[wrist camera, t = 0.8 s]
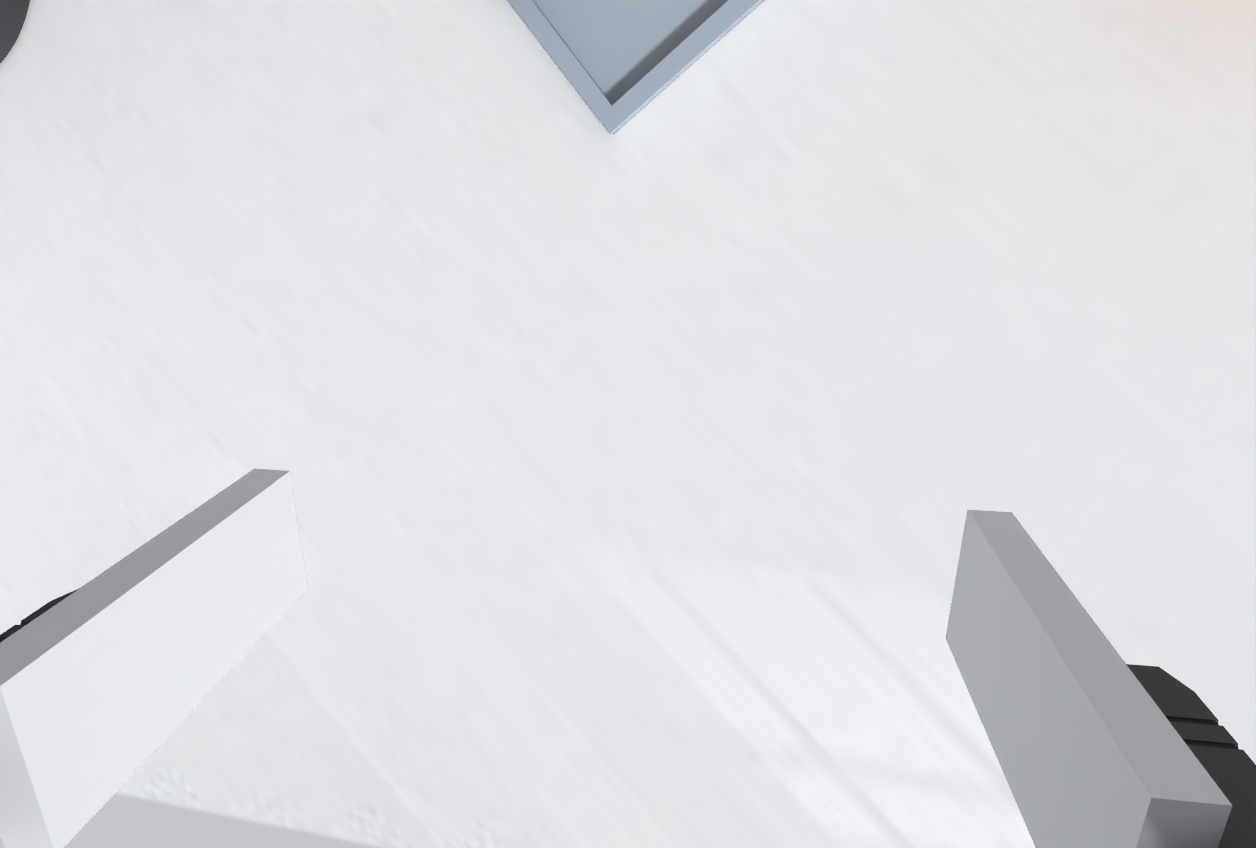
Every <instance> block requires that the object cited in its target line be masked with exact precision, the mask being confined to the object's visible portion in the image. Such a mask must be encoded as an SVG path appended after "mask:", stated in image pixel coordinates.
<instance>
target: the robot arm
mask: <svg viewBox="0 0 1256 848" xmlns="http://www.w3.org/2000/svg"><path fill="white" fill-rule="evenodd" d="M29 2H30V0H0V63H1V62H2V61H3V60H4V58H5V57H6V56H7V55H8V53H9V51H10V50H11V48H12V47H13V45H14V43H15V42H16V40H17V38H18V36H19V33H20V31H21V29H22V27H23V24H24V21H25V18H26V14H27V11H28V7H29ZM308 589H309V588H308V582H307V576H306V569H305V563H304V557H303V551H302V544H301V538H300V532H299V525H298V519H297V513H296V506H295V500H294V494H293V488H292V481H291V475H290V471H281V470H264V469H254V470H252V471H251V472H249V473H248V474H246V475H245V476H243V477H242V478H240V479H239V480H238V481H236V482H235V483H233V484H232V485H230V486H229V487H227V488H226V489H224V490H223V491H221V492H220V493H219V494H217V495H216V496H214V497H213V498H211V499H210V500H208V501H207V502H205V503H204V504H202V505H201V506H200V507H198V508H197V509H195V510H194V511H192V512H191V513H189V514H188V515H186V516H185V517H183V518H182V519H180V520H179V521H178V522H176V523H175V524H173V525H172V526H170V527H169V528H167V529H166V530H164V531H163V532H161V533H160V534H159V535H157V536H156V537H154V538H153V539H151V540H150V541H148V542H147V543H145V544H144V545H142V546H141V547H140V548H138V549H137V550H135V551H134V552H132V553H131V554H129V555H128V556H126V557H125V558H123V559H122V560H121V561H119V562H118V563H116V564H115V565H113V566H112V567H110V568H109V569H107V570H106V571H104V572H103V573H102V574H100V575H99V576H97V577H96V578H94V579H93V580H91V581H90V582H88V583H87V584H85V585H84V586H82V587H81V588H79V589H77V590H75V591H73V592H70V593H68V594H66V595H64V596H61V597H59V598H57V599H55V600H52V601H50V602H49V603H47V604H46V605H44V606H43V607H41V608H40V609H38V610H37V611H35V612H34V613H32V614H31V615H29V616H28V617H26V618H25V619H23V620H22V621H21V624H20V625H14V626H13V627H12V628H10V629H9V630H7V631H6V632H4V633H3V634H1V635H0V837H1V839H2V842H3V845H4V847H5V848H64V846H65V845H66V844H67V843H68V842H69V841H70V840H71V839H72V838H73V837H74V836H75V835H76V834H77V833H78V832H79V831H80V830H81V829H82V828H83V827H84V825H86V823H87V822H88V821H89V820H90V819H91V818H92V817H93V816H94V815H95V814H96V813H97V812H98V811H99V810H100V809H101V808H102V807H103V806H104V804H105V803H106V802H107V801H108V800H109V799H110V798H111V797H112V796H113V795H114V794H115V793H116V792H117V791H118V790H119V789H120V788H121V787H122V785H123V784H124V783H125V782H126V781H127V780H128V779H129V778H130V777H131V776H132V775H133V774H134V773H135V772H136V771H137V770H138V769H139V768H140V766H141V765H142V764H143V763H144V762H145V761H146V760H147V759H148V758H149V757H150V756H151V755H152V754H153V753H154V752H155V751H156V750H157V749H158V748H159V746H160V745H161V744H162V743H163V742H164V741H165V740H166V739H167V738H168V737H169V736H170V735H171V734H172V733H173V732H174V731H175V730H176V729H177V727H178V726H179V725H180V724H181V723H182V722H183V721H184V720H185V719H186V718H187V717H188V716H189V715H190V714H191V713H192V712H193V711H194V710H195V708H196V707H197V706H198V705H199V704H200V703H201V702H202V701H203V700H204V699H205V698H206V697H207V696H208V695H209V694H210V693H211V692H212V691H213V690H214V688H215V687H216V686H217V685H218V684H219V683H220V682H221V681H222V680H223V679H224V678H225V677H226V676H227V675H228V674H229V673H230V672H231V671H232V669H233V668H234V667H235V666H236V665H237V664H238V663H239V662H240V661H241V660H242V659H243V658H244V657H245V656H246V655H247V654H248V653H249V652H250V650H251V649H252V648H253V647H254V646H255V645H256V644H257V643H258V642H259V641H260V640H261V639H262V638H263V637H264V636H265V635H266V634H267V633H268V632H269V630H270V629H271V628H272V627H273V626H274V625H275V624H276V623H277V622H278V621H279V620H280V619H281V618H282V617H283V616H284V615H285V614H286V613H287V611H288V610H289V609H290V608H291V607H292V606H293V605H294V604H295V603H296V602H297V601H298V600H299V599H300V598H301V597H302V596H303V595H304V594H305V592H306V591H307V590H308ZM946 640H947V642H948V644H949V647H950V649H951V651H952V654H953V656H954V658H955V661H956V663H957V665H958V668H959V670H960V672H961V675H962V677H963V679H964V682H965V684H966V686H967V689H968V691H969V693H970V696H971V698H972V700H973V703H974V705H975V707H976V710H977V712H978V714H979V716H980V719H981V721H982V723H983V726H984V728H985V730H986V733H987V735H988V737H989V740H990V742H991V744H992V747H993V749H994V751H995V754H996V756H997V758H998V761H999V763H1000V765H1001V768H1002V770H1003V772H1004V775H1005V777H1006V779H1007V782H1008V784H1009V786H1010V789H1011V791H1012V793H1013V796H1014V798H1015V800H1016V803H1017V805H1018V807H1019V810H1020V812H1021V814H1022V817H1023V819H1024V821H1025V824H1026V826H1027V828H1028V831H1029V833H1030V835H1031V837H1032V840H1033V842H1034V844H1035V847H1036V848H1256V765H1255V764H1254V762H1253V761H1252V760H1251V759H1250V758H1249V756H1248V755H1247V754H1246V753H1245V752H1244V750H1239V749H1238V743H1237V742H1236V741H1235V740H1234V739H1233V737H1232V736H1231V735H1230V734H1229V733H1228V731H1227V730H1226V729H1225V728H1224V727H1223V726H1219V725H1218V719H1217V718H1216V717H1215V716H1214V715H1213V714H1212V712H1211V711H1210V710H1209V709H1208V708H1207V706H1206V705H1205V704H1204V703H1203V702H1202V700H1201V699H1200V698H1199V697H1198V696H1197V694H1196V693H1195V692H1194V691H1192V690H1191V689H1189V688H1188V687H1187V686H1185V685H1184V684H1182V683H1181V682H1180V681H1178V680H1177V679H1175V678H1174V677H1172V676H1171V675H1170V674H1168V673H1167V672H1165V671H1164V670H1163V669H1161V668H1160V667H1154V666H1141V665H1129V664H1125V662H1124V661H1123V660H1122V658H1121V657H1120V656H1119V654H1118V653H1117V652H1116V650H1115V649H1114V648H1113V646H1112V645H1111V644H1110V642H1109V641H1108V640H1107V638H1106V637H1105V636H1104V634H1103V633H1102V632H1101V630H1100V629H1099V628H1098V626H1097V625H1096V624H1095V622H1094V621H1093V620H1092V618H1091V617H1090V616H1089V614H1088V613H1087V612H1086V610H1085V609H1084V608H1083V606H1082V605H1081V604H1080V602H1079V601H1078V600H1077V598H1076V597H1075V596H1074V594H1073V593H1072V592H1071V591H1070V589H1069V588H1068V587H1067V585H1066V584H1065V583H1064V581H1063V580H1062V579H1061V577H1060V576H1059V575H1058V573H1057V572H1056V571H1055V569H1054V568H1053V567H1052V565H1051V564H1050V563H1049V561H1048V560H1047V559H1046V557H1045V556H1044V555H1043V553H1042V552H1041V551H1040V549H1039V548H1038V547H1037V545H1036V544H1035V543H1034V541H1033V540H1032V539H1031V537H1030V536H1029V535H1028V533H1027V532H1026V531H1025V529H1024V528H1023V527H1022V525H1021V524H1020V523H1019V521H1018V520H1017V519H1016V518H1015V516H1014V515H1013V514H1012V512H995V511H978V510H967V516H966V522H965V528H964V534H963V539H962V545H961V551H960V557H959V563H958V569H957V574H956V580H955V586H954V592H953V598H952V603H951V609H950V615H949V621H948V627H947V633H946Z"/></svg>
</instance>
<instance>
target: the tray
mask: <svg viewBox="0 0 1256 848" xmlns="http://www.w3.org/2000/svg"><path fill="white" fill-rule="evenodd" d="M763 1H764V0H508V2H509V3H510V4H511V6H512V7H513V8H514V10H515V11H516V12H517V14H518V15H519V16H520V17H521V19H522V20H523V21H524V23H525V24H526V25H527V27H528V28H529V29H530V31H531V32H532V33H533V34H534V36H535V37H536V38H537V40H538V41H539V42H540V44H541V45H542V46H543V48H544V49H545V50H546V51H547V53H548V54H549V55H550V57H551V58H552V59H553V61H554V62H555V63H556V65H557V66H558V67H559V68H560V70H561V71H562V72H563V74H564V75H565V76H566V78H567V79H568V80H569V82H570V83H571V84H572V85H573V87H574V88H575V89H576V91H577V92H578V93H579V95H580V96H581V97H582V99H583V100H584V101H585V103H586V104H587V105H588V106H589V108H590V109H591V110H592V112H593V113H594V114H595V116H596V117H597V118H598V120H599V121H600V122H601V123H602V125H603V126H604V127H605V129H606V130H607V131H608V133H609V134H615V133H616V132H617V131H618V130H619V129H620V128H621V127H622V126H624V125H625V124H626V123H627V122H628V121H629V120H630V119H631V118H633V117H634V116H635V115H636V114H637V113H638V112H639V111H640V110H642V109H643V108H644V107H645V106H646V105H647V104H648V103H649V102H651V101H652V100H653V99H654V98H655V97H656V96H657V95H658V94H660V93H661V92H662V91H663V90H664V89H665V88H666V87H667V86H669V85H670V84H671V83H672V82H673V81H674V80H675V79H676V78H678V77H679V76H680V75H681V74H682V73H683V72H684V71H685V70H687V69H688V68H689V67H690V66H691V65H692V64H693V63H694V62H695V61H697V60H698V59H699V58H700V57H701V56H702V55H703V54H704V53H706V52H707V51H708V50H709V49H710V48H711V47H712V46H713V45H715V44H716V43H717V42H718V41H719V40H720V39H721V38H722V37H724V36H725V35H726V34H727V33H728V32H729V31H730V30H731V29H733V28H734V27H735V26H736V25H737V24H738V23H739V22H740V21H742V20H743V19H744V18H745V17H746V16H747V15H748V14H749V13H751V12H752V11H753V10H754V9H755V8H756V7H757V6H758V5H760V4H761V3H762V2H763Z"/></svg>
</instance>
